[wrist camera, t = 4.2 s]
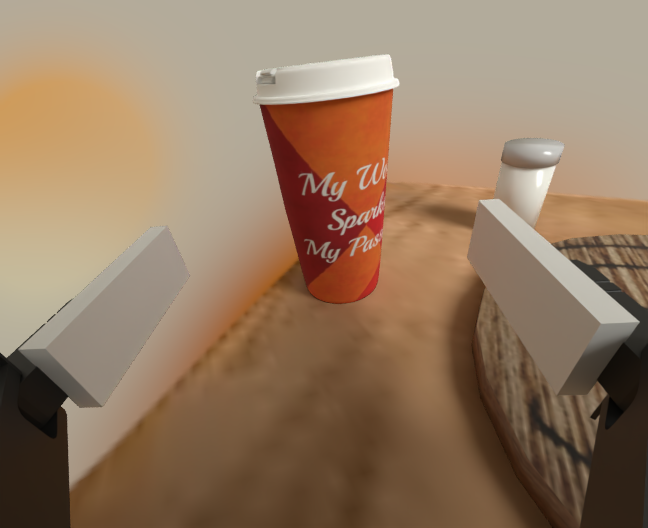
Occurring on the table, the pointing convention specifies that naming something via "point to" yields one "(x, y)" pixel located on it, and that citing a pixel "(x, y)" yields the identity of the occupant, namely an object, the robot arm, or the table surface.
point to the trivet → (537, 395)
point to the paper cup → (332, 166)
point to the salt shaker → (527, 175)
